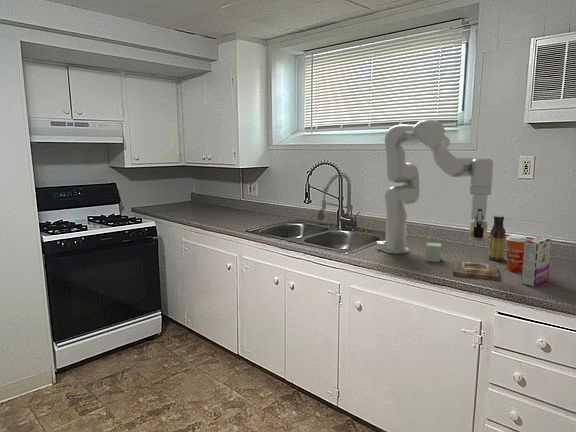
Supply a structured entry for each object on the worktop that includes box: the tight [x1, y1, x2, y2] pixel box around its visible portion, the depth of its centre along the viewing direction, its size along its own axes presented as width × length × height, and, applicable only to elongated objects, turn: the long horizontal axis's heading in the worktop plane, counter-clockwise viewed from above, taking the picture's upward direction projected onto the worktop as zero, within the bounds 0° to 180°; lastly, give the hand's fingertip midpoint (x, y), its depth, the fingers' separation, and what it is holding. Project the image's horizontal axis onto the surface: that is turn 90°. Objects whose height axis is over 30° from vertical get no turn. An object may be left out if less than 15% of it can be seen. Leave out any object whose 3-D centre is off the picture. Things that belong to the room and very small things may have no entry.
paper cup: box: [505, 234, 528, 273], centre depth 169 cm, size 8×8×14 cm
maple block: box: [469, 220, 488, 242], centre depth 165 cm, size 6×6×7 cm
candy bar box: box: [521, 236, 552, 287], centre depth 154 cm, size 11×5×16 cm, turn 126°
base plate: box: [452, 261, 500, 281], centre depth 168 cm, size 16×16×2 cm
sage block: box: [424, 242, 442, 263], centre depth 187 cm, size 6×6×7 cm
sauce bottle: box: [488, 214, 507, 262], centre depth 185 cm, size 6×6×20 cm
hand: (477, 235), depth 165 cm, fingers closed on maple block, 5 cm apart
